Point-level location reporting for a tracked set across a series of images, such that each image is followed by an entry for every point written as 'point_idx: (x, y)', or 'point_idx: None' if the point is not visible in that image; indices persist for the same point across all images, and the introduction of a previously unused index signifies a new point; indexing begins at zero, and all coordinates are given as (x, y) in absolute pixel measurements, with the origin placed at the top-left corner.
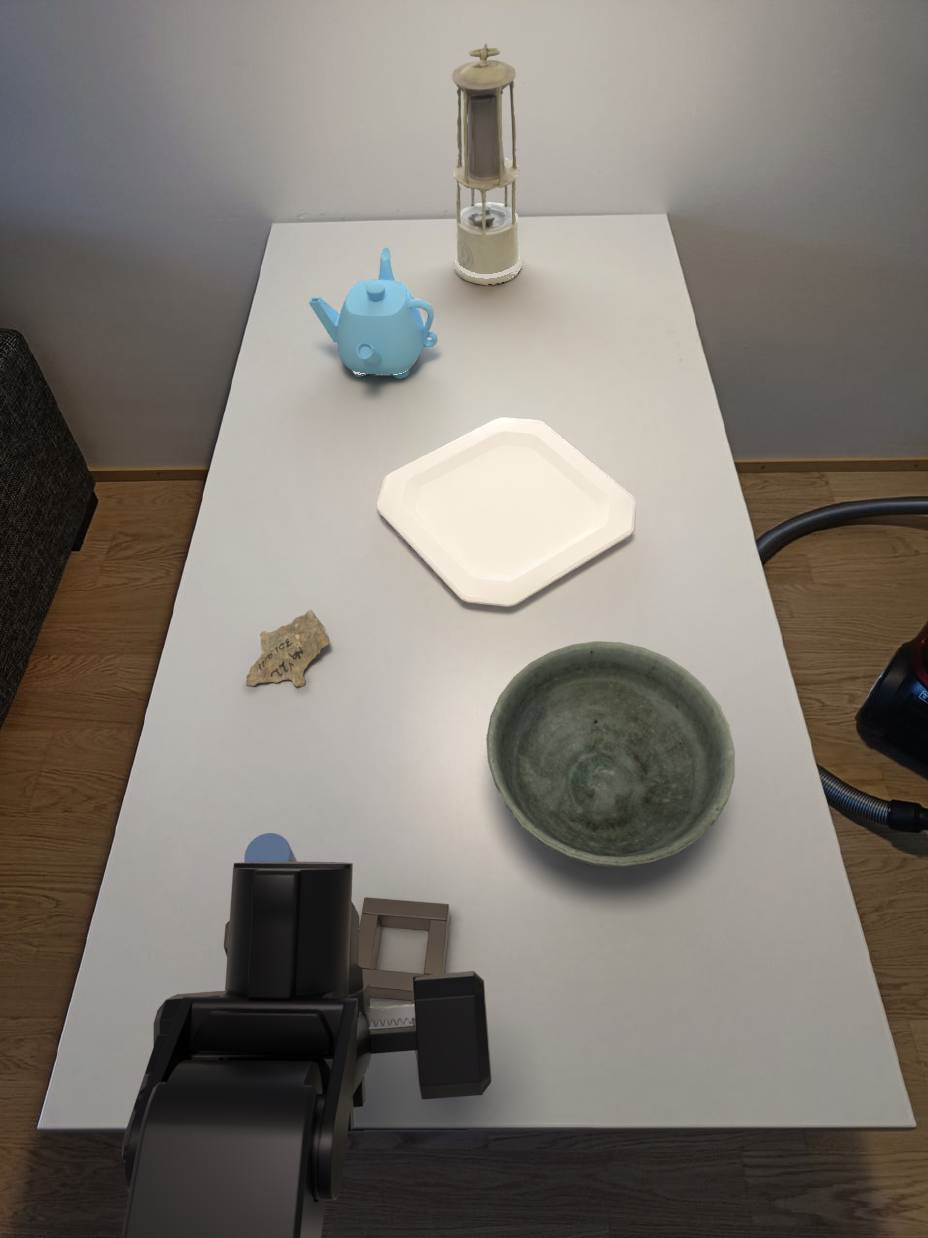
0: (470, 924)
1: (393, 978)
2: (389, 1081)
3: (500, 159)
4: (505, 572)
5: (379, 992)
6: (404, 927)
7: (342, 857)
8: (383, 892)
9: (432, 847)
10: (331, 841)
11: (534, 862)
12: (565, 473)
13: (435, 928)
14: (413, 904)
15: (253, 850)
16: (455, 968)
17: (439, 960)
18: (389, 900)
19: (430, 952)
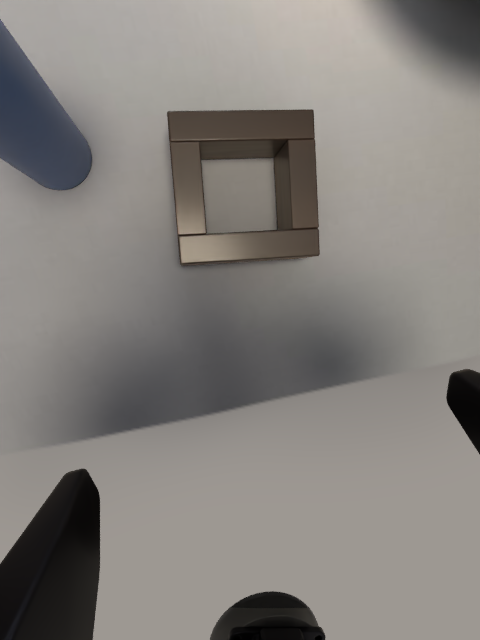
0: (326, 141)
1: (247, 243)
2: (252, 362)
3: None
4: None
5: (223, 262)
6: (233, 157)
7: (101, 45)
8: (186, 103)
9: (250, 15)
10: (72, 15)
11: (408, 31)
12: None
13: (298, 154)
14: (256, 115)
15: None
16: None
17: (313, 205)
18: (213, 112)
19: (297, 194)
